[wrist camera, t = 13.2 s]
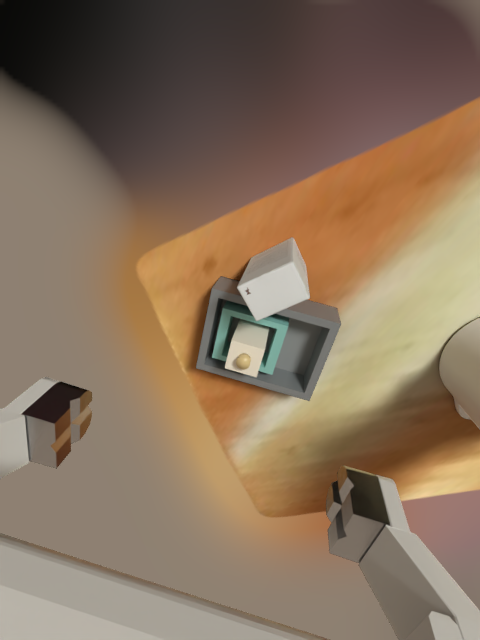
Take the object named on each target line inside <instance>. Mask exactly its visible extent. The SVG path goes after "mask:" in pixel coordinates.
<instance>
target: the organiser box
mask: <svg viewBox="0 0 480 640" xmlns="http://www.w3.org/2000/svg"><path fill="white" fill-rule="evenodd" d="M239 282H240V281H237V280H233V279H229V278H226V277H222V276H221V277H220V278H219V279H218V281H217V282H216V283H215V285H214V286H213V287H212V290H211V295H210V300H209V305H208V310H207V315H206V320H205V325H204V330H203V335H202V340H201V345H200V350H199V355H198V360H197V365H196V368H197V369H201V370H204V371H207V372H211V373H214V374H218V375H221V376H225V377H228V378H232V379H235V380H239V381H242V382H245V383H249V384H252V385H256V386H259V387H263V388H266V389H270V390H273V391H276V392H280V393H283V394H287V395H290V396H294V397H297V398H301V399H304V400H307V401H310V398H311V396H312V393H313V391H314V389H315V386H316V384H317V381H318V379H319V376H320V374H321V372H322V369H323V367H324V364H325V362H326V360H327V357H328V355H329V352H330V350H331V347H332V345H333V343H334V340H335V338H336V335H337V333H338V330H339V328H340V326H341V322H340V318H339V314H338V310H337V308H335V307H331V306H328V305H324V304H321V303H317V302H313V301H310V300H305V301H302V302H300V303H298V304H295V305H293V306H291V307H289V308H286V309H284V310H282V311H280V312H277V313H275V314H278V315H282V316H285V317H289V325H288V329H287V332H286V335H285V338H284V341H283V344H282V347H281V350H280V353H279V356H278V359H277V362H276V365H275V368H274V371H273V374H272V375H271V374H267V373H264V372H260V371H258V374H257V377H253V376H250V375H246V374H243V373H240V372H236V371H233V370H229V369H226V368H225V364H226V361H222V360H219V359H215V358H212V354H213V350H214V346H215V341H216V337H217V332H218V328H219V323H220V319H221V314H222V310H223V307H224V305H225V303H226V301H227V300H228V301H231V302H235V303H239V304H242V305H246V306H247V304H246V303H245V301H244V299H243V297H242V296H241V294H240V292H239V291H238V289H237V286H238V284H239ZM239 320H240V318H236V317H233V320H232V324H231V328H230V333H229V337H228V342H231V340H232V338H233V335H234V333H235V330H236V328H237V325H238V323H239ZM274 331H275V328H272V327H269V331H268V337H267V342H266V347H265V351H264V352H267V353H268V350H269V347H270V343H271V340H272V337H273V334H274Z"/></svg>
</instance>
